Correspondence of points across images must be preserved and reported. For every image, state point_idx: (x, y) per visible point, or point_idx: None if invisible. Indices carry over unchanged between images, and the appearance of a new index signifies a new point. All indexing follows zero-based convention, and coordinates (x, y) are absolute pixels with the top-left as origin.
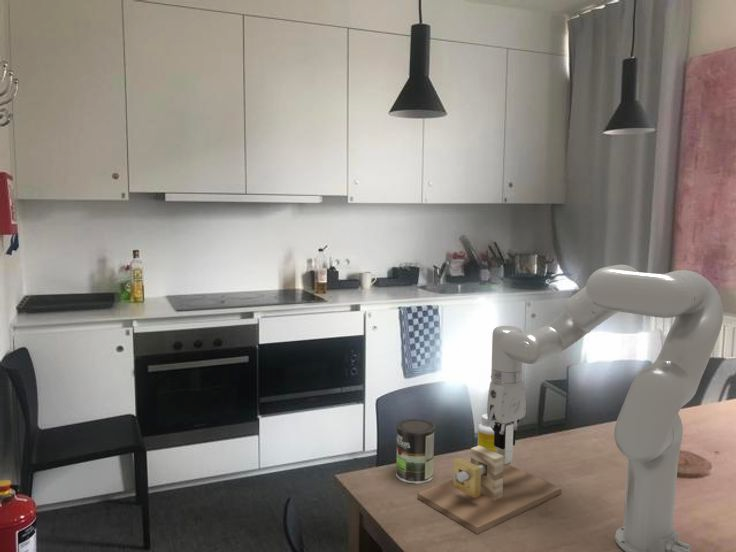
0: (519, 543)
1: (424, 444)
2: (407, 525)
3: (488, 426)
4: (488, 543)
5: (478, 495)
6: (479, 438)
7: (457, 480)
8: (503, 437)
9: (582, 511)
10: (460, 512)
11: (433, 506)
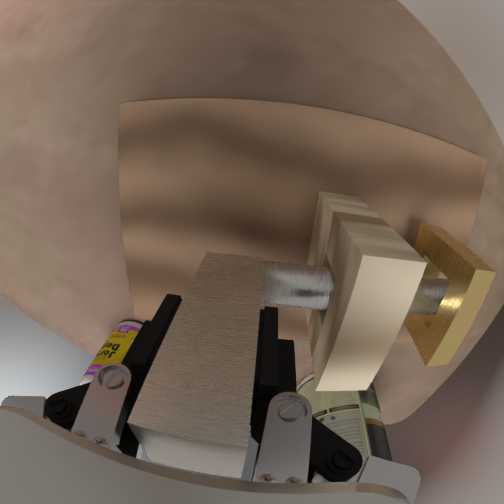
0: (447, 61)
1: (372, 443)
2: (499, 278)
3: None
4: (486, 121)
5: (428, 225)
6: None
7: None
8: (275, 368)
9: (177, 12)
10: (459, 228)
11: None
